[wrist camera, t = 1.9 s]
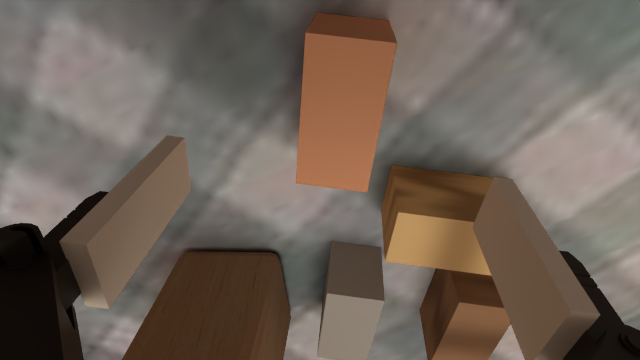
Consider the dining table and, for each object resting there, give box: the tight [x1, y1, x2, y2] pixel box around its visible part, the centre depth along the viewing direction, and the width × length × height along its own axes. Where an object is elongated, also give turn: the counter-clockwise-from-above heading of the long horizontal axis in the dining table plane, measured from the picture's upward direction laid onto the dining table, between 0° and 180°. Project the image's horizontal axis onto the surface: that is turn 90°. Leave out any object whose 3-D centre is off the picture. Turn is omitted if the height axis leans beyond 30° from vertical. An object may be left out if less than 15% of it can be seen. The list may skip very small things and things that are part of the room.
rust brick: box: [296, 12, 397, 192], centre depth 23 cm, size 9×4×6 cm, turn 175°
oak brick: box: [381, 165, 493, 276], centre depth 27 cm, size 9×4×6 cm, turn 85°
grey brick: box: [317, 241, 384, 360], centre depth 33 cm, size 9×4×6 cm, turn 175°
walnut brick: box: [420, 268, 511, 360], centre depth 32 cm, size 9×4×6 cm, turn 175°
